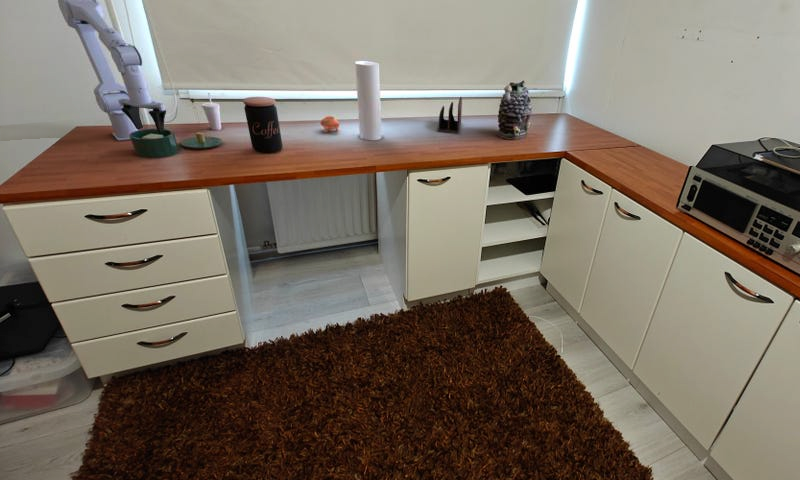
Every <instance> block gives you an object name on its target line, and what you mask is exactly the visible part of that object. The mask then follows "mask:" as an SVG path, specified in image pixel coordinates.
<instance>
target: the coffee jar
mask: <svg viewBox="0 0 800 480" xmlns="http://www.w3.org/2000/svg"><path fill="white" fill-rule="evenodd" d="M242 103H243V105H244V106H243V107H244V108H243V109H244V114H245V119H246V123H247V128H248V132H249V133H248V134H249V138H250V143H251V148H252V149H253V150H254V151H255V153H256V152H257V153H260V154H276V153H278V152H281V151H282V149H283V147H284V146H283V141H282V140H283V139H282V134H281V127H280V120H279V115H278V110H277V106H276V99H275V98H272V97H267V96H251V97H249V96H248V97H245V98H243V99H242Z"/></svg>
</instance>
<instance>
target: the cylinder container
mask: <svg viewBox="0 0 800 480" xmlns="http://www.w3.org/2000/svg"><path fill="white" fill-rule="evenodd" d="M354 66H355V80H356V82H355V83H356V97H357V99H356V100H357V113H358V115H357V116H358V129H359V130H358V131H359V138H360V139H362V140H365V141H378V140H381V139H382V112H381V110H382V109H381V83H380V81H381V80H380V77H381V76H380V63H378V62H374V61H368V60H365V61H364V60H359V61H355V63H354Z"/></svg>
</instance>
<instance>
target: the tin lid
mask: <svg viewBox="0 0 800 480" xmlns="http://www.w3.org/2000/svg"><path fill="white" fill-rule="evenodd" d="M222 144H223V140H222V139H221V138H219V137H216V136H207V135H204V132H203V131H202V132H201V131H197V132H195V136H191V137H187V138H184V139H182V140H181V141H180V146H181V147H184V148H187V149H194V150H195V149H197V150H202V149H203V150H204V149H210V148H211V149H212V148H215V147H219V146H221V145H222Z"/></svg>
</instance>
